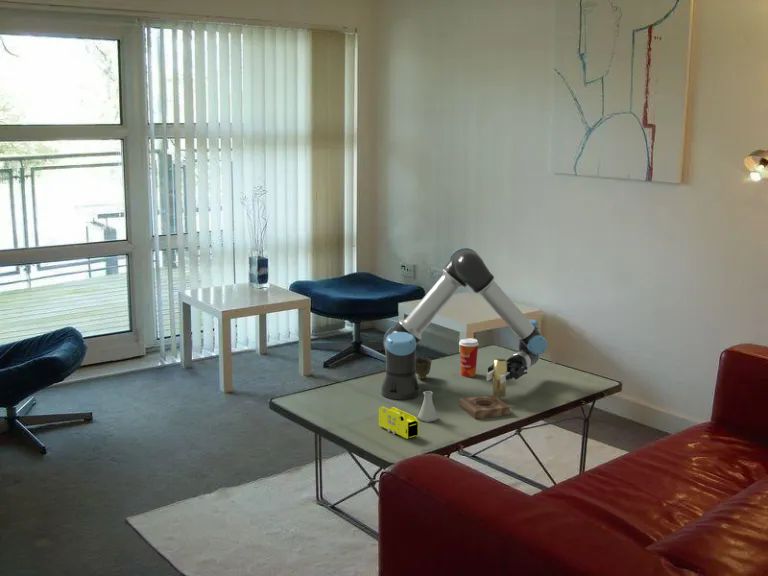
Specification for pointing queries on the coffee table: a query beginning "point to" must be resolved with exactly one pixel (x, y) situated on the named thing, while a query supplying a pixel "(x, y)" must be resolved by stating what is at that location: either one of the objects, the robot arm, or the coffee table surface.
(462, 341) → the coffee cup
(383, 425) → the yellow toy chassis
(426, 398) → the flask
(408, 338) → the robot arm
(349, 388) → the coffee table surface
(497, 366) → the cylinder
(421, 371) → the cup
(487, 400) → the jig plate
